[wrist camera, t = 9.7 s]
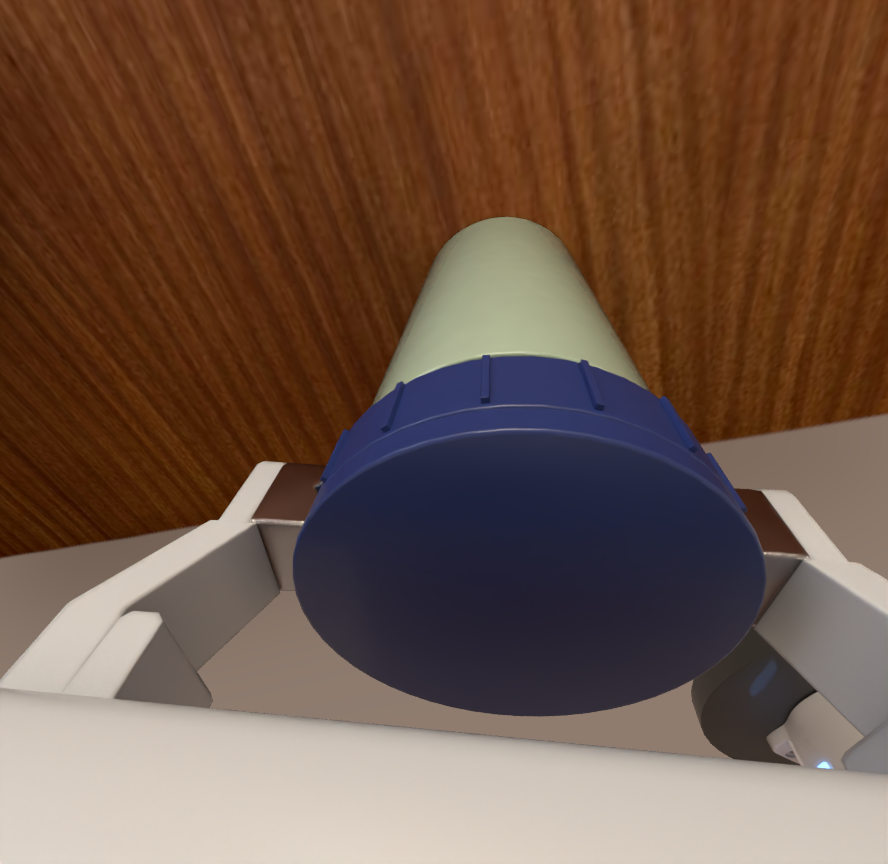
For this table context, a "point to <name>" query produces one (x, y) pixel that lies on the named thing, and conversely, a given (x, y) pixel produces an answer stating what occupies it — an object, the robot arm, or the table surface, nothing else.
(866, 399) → the table surface
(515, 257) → the jar
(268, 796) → the robot arm
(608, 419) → the lid
